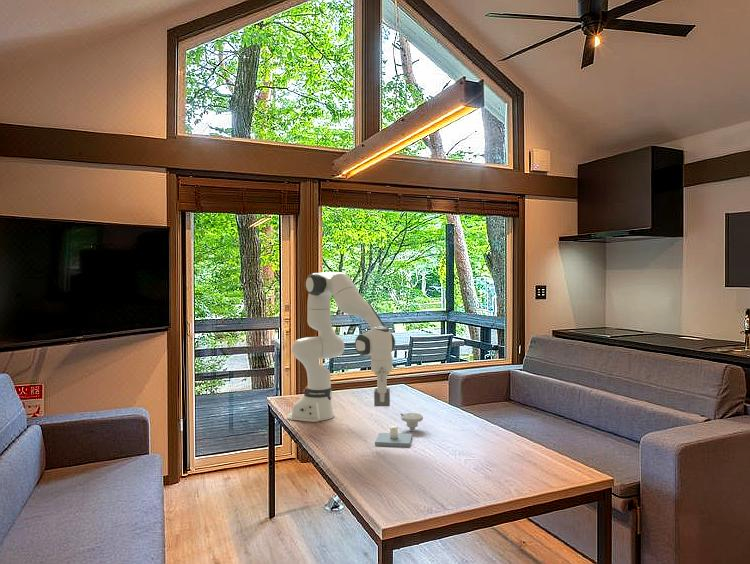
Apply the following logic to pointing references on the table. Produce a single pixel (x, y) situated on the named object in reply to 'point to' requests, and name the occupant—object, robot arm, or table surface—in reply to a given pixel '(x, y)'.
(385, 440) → the base
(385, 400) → the collar
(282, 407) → the table surface
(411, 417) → the showerhead
